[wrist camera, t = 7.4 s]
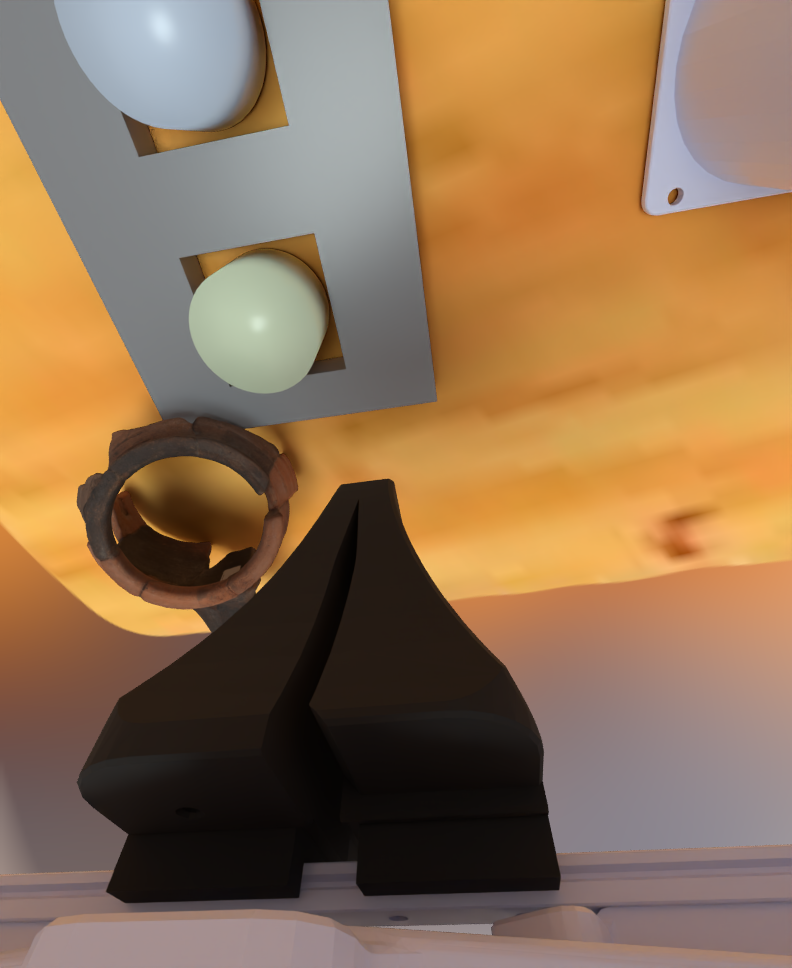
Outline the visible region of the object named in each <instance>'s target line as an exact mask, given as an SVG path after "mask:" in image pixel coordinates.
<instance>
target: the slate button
mask: <svg viewBox="0 0 792 968" xmlns="http://www.w3.org/2000/svg"><path fill="white" fill-rule="evenodd" d="M54 4H55V8H56V12H57V15H58V19H59V22H60V25H61V28H62V30H63V33H64V36H65V38H66V40H67V43H68V45H69V47H70V49H71V51H72V53H73V55H74V57H75V58H76V60H77V62H78V64H79V65H80V67H81V68H82V70H83V71H84V73H85V74H86V76H87V77H88V78H89V80H90V81H91V82H92V83H93V85H94V86H95V87H96V88H97V89H98V91H99V92H100V93H101V94H102V95H103V96H104V97H105V98H106V99H107V100H108V101H109V102H111V103H112V104H113V105H114V106H115V107H117V108H118V109H119V110H120V111H122V112H123V113H125V114H126V115H128V116H130V117H131V118H133V119H135V120H137V121H139V122H141V123H144V124H147V125H150V126H153V127H158V128H163V129H176V130H190V131H204V132H215V131H221V130H225V129H228V128H230V127H232V126H234V125H236V124H237V123H239V122H240V121H241V120H242V119H244V117H245V116H246V115H247V114H248V113H249V112H250V111H251V109H252V108H253V106H254V105H255V103H256V101H257V99H258V97H259V94H260V91H261V88H262V85H263V81H264V76H265V68H266V46H265V37H264V31H263V26H262V22H261V19H260V15H259V12H258V9H257V7H256V4H255V2H254V0H54Z"/></svg>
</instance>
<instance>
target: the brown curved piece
mask: <svg viewBox="0 0 792 968" xmlns="http://www.w3.org/2000/svg"><path fill="white" fill-rule="evenodd" d="M177 456H193V457H199V458H205V459H209V460H213V461H216V462H218V463H221V464H223V465H226V466H227V467H229V468H231V469H233V470H234V471H235V472H237V473H238V474H240V475H241V476H242V477H243V478H244V479H245V480H246V481H247V482H248V483H249V484H250V485H251V487H252V488H253V489H254V490H255V492H256V493H257V494H258V495H262V494H263V493H264V492H265V494H266V497H267V500H268V508H269V512H268V514H267V515H266V516H265V518H264V526H263V534H262V538H261V541H260V544H259V546H258V548H257V550H256V549H255V548H253V547H249V548H246V549H243V550H241V551H234V552H231V553H229V554H227V555H226V556H225V558H223V559H222V560H221V561H220V562H219V563H217V564H216V565H215V566H214V567H212V568H210V569H209V563H210V558H209V556H210V553H211V547H212V546H211V543H210V542H200V543H193V542H183V541H179V540H175V539H173V538H170V537H167V536H164V535H162V534H159V533H158V532H156V531H155V530H153V529H152V528H151V527H149V526H148V525H147V524H146V523H145V521H144V520H143V519H142V517H141V516H140V514H139V513H138V511H137V509H136V508H135V506H134V504H133V501H132V499H131V496H130V494H129V492H127V491H123V492H121V493H120V494H118V493H119V491H120V489H121V487H122V486H123V485H124V483H125V481H126V480H127V479H128V478H130V477H131V476H132V475H133V474H134V473H135V472H137V471H138V470H139V469H141V468H143V467H144V466H146V465H148V464H150V463H152V462H154V461H157V460H160V459H164V458H169V457H177ZM297 490H298V485H297V479H296V475H295V472H294V470H293V468H292V465H291V462H290V461H289V459H288V458H287V457H286V456H285V454H284V453H282V454H280V455H279V451H278V449H277V448H276V447H275V446H274V445H273V444H271V443H269V442H268V441H266V440H264V439H263V438H261V437H259V436H257V435H255V434H253V433H251V432H249V431H247V430H244V429H242V428H240V427H238V426H235V425H232V424H230V423H227V422H223V421H218V420H215V419H211V418H207V417H197V418H196V419H195V421H194V422H193V423H190V422H188V421H187V420H185V419H184V418H180V417H177V418H172V419H167V420H163V421H159V422H157V423H153V424H150V425H148V426H144V427H140V428H135V429H130V430H120V431H117V432H114V433H113V434H112V440H111V443H110V447H109V467H108V470H107V471H106V472H105V473H104V474H101V473H96V474H94V475H92V476H90V477H89V478H88V479H87V480H86V482H85V484H83V485H80V486H79V488H78V495H77V506H78V508H79V510H80V512H81V514H82V517H83V519H84V522H85V523H86V531H87V537H88V540H89V542H88V543H87V546H88V548H89V550H90V552H91V554H92V556H93V557H94V559H95V560H96V562H97V563H98V564H99V566H100V567H101V568H102V569H103V570H104V571H105V572H106V573H107V574H108V575H109V576H110V577H111V578H112V579H113V580H114V581H115V582H116V583H117V584H118V585H119V586H120V587H122V588H123V589H125V590H126V591H127V592H129V593H130V594H132V595H134V596H139V597H141V598H142V599H143V600H144V601H146V602H148V603H151V604H155V605H159V606H163V607H166V608H176V609H193V610H195V611H196V612H197V613H198V614H199V615H200V617H201V618H202V619H203V620H204V622H205V623H206V625H207V626H208V628H209V629H210V631H211V632H212V633H213V632H214V631H215V630H217V629H218V628H219V627H220V626H221V625H222V624H224V623H225V622H226V621H227V620H228V619H229V618H230V617H231V616H233V615H234V614H235V613H236V612H237V611H238V610H239V609H240V608H241V607H243V606H244V605H245V604H246V603H247V602H248V601H249V600H250V599H251V598H252V597H253V596H255V595H256V592H255V591H256V589H257V587H258V585H259V583H260V581H261V576H263V575H264V573H265V572H266V571H267V570H268V568H269V567H270V566H271V564H272V563H273V561H274V559H275V557H276V555H277V553H278V550H279V548H280V545H281V543H282V540H283V538H284V535H285V533H286V530H287V526H288V520H289V501H288V500H289V498H290V497H292V495H293V494H294V493H295V492H296V491H297ZM117 494H118V495H117ZM112 529H113V530H112ZM113 532H114V534H115V536H116V538H117V540H118V544H117V543H116V541H115V538H114V535H113Z"/></svg>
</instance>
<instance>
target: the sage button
mask: <svg viewBox="0 0 792 968" xmlns="http://www.w3.org/2000/svg"><path fill="white" fill-rule="evenodd" d="M328 323H329V304H328V299H327V296H326V293H325V290H324V288H323V286H322V284H321V282H320V281H319V279H318V277H317V276H316V275H315V273H314V272H313V271H312V270H311V269H310V268H309V267H308V266H307V265H306V264H305V263H303V262H302V261H301V260H299V259H298V258H296V257H295V256H293V255H291V254H288V253H286V252H283V251H280V250H275V249H256V250H252V251H249V252H247V253H244V254H242V255H241V256H239V257H238V258H236V259H235V260H233V261H232V262H230V263H229V264H227V265H226V266H224V267H223V268H221V269H220V270H218V271H217V272H215V273H214V274H212V275H211V276H209V277H208V278H207V279H206V280H204V281H203V282H202V283H201V285H200V286H199V287H198V289H197V290H196V292H195V294H194V296H193V298H192V301H191V304H190V310H189V328H190V333H191V337H192V340H193V343H194V345H195V347H196V349H197V352H198V353H199V355H200V356H201V358H202V360H203V361H204V362H205V363H206V365H207V366H208V367H209V368H210V369H211V370H212V371H213V372H214V373H215V374H216V375H217V376H219V377H220V378H221V379H222V380H224V381H225V382H227V383H229V384H231V385H232V386H234V387H237V388H239V389H242V390H245V391H248V392H253V393H263V394H267V393H276V392H280V391H283V390H286V389H289V388H290V387H292V386H294V385H296V384H297V383H298V382H300V381H301V380H302V379H303V378H304V377H305V376H306V374H307V373H308V372H309V370H310V368H311V367H312V365H313V362H314V360H315V358H316V355H317V353H318V351H319V348H320V346H321V343H322V341H323V339H324V336H325V334H326V331H327V328H328Z"/></svg>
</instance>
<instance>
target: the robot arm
mask: <svg viewBox="0 0 792 968" xmlns="http://www.w3.org/2000/svg"><path fill="white" fill-rule="evenodd" d="M675 188H677V189H678V196H677V199H676V200H675V201H674V202H673V203H671V204H669V203H668V199H667V198H668V195H669V193H670V192H671V191H672V190H673V189H675ZM789 192H792V0H666V3H665V11H664V19H663V28H662V36H661V44H660V52H659V60H658V69H657V77H656V85H655V93H654V101H653V110H652V118H651V126H650V134H649V142H648V151H647V159H646V167H645V175H644V183H643V192H642V200H641V203H642V208H643V210H644V212H646V213H647V214H650V215H663V214H669V213H674V212H680V211H686V210H692V209H697V208H703V207H709V206H714V205H720V204H726V203H732V202H737V201H743V200H749V199H754V198H760V197H766V196H772V195H777V194H783V193H789ZM543 756H544V750H543V744H542V740H541V736H540V733H539V731H538V728H537V725H536V723H535V720H534V718H533V716H532V714H531V712H530V710H529V708H528V706H527V704H526V702H525V700H524V698H523V696H522V694H521V693H520V691H519V689H518V687H517V685H516V684H515V682H514V680H513V678H512V677H511V675H510V673H509V671H508V670H507V668H506V666H505V665H504V664H503V663H502V662H501V661H500V660H499V659H498V658H497V657H496V656H495V655H494V654H493V653H491V651H490V650H488V648H487V647H486V646H485V645H484V644H483V643H482V642H481V641H480V640H479V639H478V638H477V637H476V635H475V634H474V633H473V632H472V631H471V630H470V629H469V628H468V627H467V625H466V624H465V623H464V622H463V621H462V619H461V618H460V617H459V616H458V614H457V613H456V612H455V610H454V609H453V608H452V607H451V605H450V604H449V603H448V601H447V600H446V599H445V598H444V596H443V595H442V594H441V592H440V591H439V589H438V588H437V586H436V585H435V583H434V582H433V580H432V579H431V577H430V576H429V574H428V572H427V571H426V569H425V568H424V566H423V564H422V563H421V561H420V559H419V557H418V555H417V554H416V552H415V550H414V548H413V546H412V544H411V542H410V540H409V538H408V535H407V533H406V531H405V528H404V526H403V523H402V519H401V514H400V509H399V504H398V499H397V495H396V490H395V485H394V482H393V481H392V480H390V479H382V480H374V481H366V482H358V483H350V484H342V485H341V486H340V487H339V488H338V489H337V491H336V492H335V494H334V495H333V497H332V498H331V500H330V502H329V503H328V505H327V506H326V508H325V509H324V511H323V512H322V514H321V515H320V517H319V518H318V519H317V521H316V522H315V524H314V525H313V526H312V528H311V529H310V531H309V532H308V533H307V535H306V536H305V538H304V539H303V540H302V542H301V543H300V544H299V546H298V547H297V548H296V549H295V551H294V552H293V553H292V554H291V556H290V557H289V558H288V559H287V561H286V562H285V563H284V564H283V566H282V567H281V568H280V569H279V570H278V571H277V572H276V574H275V575H274V576H273V577H272V578H271V579H270V580H269V581H268V582H267V583H266V584H265V585H264V586H263V587H262V588H261V589H260V590H259V591H258V593H257V594H256V595H255V596H253V597H252V598H251V599H250V600H249V601H248V602H247V603H246V604H245V605H244V606H243V607H241V608H240V609H239V610H238V611H237V612H236V613H235V614H234V615H233V616H231V617H230V618H229V619H228V620H227V621H226V622H225V623H224V624H222V625H221V626H220V627H219V628H218V629H217V630H215V631H214V632H213V633H212V634H211V635H209V636H208V637H207V638H205V639H204V640H203V641H202V642H200V643H199V644H198V645H196V646H195V647H194V648H193V649H191V650H190V651H188V652H187V653H186V654H184V655H183V656H182V657H180V658H179V659H178V660H176V661H175V662H174V663H172V664H171V665H169V666H168V667H166V668H165V669H163V670H162V671H160V672H159V673H157V674H156V675H154V676H153V677H152V678H150V679H148V680H147V681H145V682H144V683H142V684H141V685H139V686H138V687H136V688H135V689H133V690H132V691H130V692H129V693H127V694H125V695H124V696H122V697H121V698H119V700H118V702H117V703H116V705H115V707H114V709H113V711H112V713H111V714H110V717H109V718H108V720H107V722H106V724H105V726H104V728H103V730H102V732H101V734H100V736H99V737H98V740H97V741H96V743H95V746H94V747H93V749H92V751H91V753H90V755H89V757H88V759H87V761H86V763H85V765H84V767H83V769H82V771H81V773H80V775H79V778H78V781H77V784H78V786H79V789H80V792H81V794H82V797H83V798H84V799H85V800H86V801H87V802H88V803H89V804H90V805H91V806H92V807H93V808H95V809H96V810H97V811H99V812H100V813H101V814H102V815H104V816H105V817H106V818H108V819H109V820H111V821H112V822H113V823H114V824H116V825H117V826H118V827H120V828H121V829H122V830H123V831H125V832H126V833H128V837H127V840H126V842H125V845H124V847H123V849H122V852H121V855H120V857H119V859H118V862H117V864H116V867H115V869H114V870H112V871H110V870H109V871H85V872H57V873H34V874H33V873H31V874H5V875H0V968H792V845H765V846H741V847H740V846H739V847H713V848H688V849H663V850H662V849H660V850H636V851H635V850H634V851H608V852H582V853H557V854H556V851H555V847H554V842H553V837H552V832H551V828H550V823H549V818H548V813H549V811H548V804H547V799H546V795H545V790H544V786H543V781H542V780H543ZM451 924H452V925H457V924H493V926H492V927H491V930H492V935H481V934H467V933H451V932H437V931H423V930H408V929H394V928H379V927H370V926H409V925H410V926H411V925H451Z"/></svg>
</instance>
